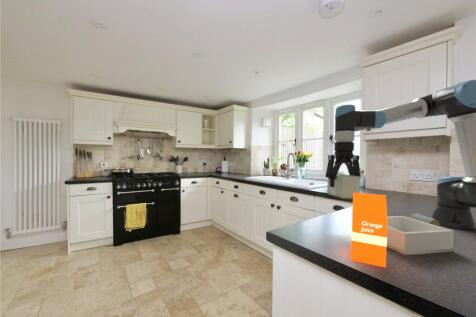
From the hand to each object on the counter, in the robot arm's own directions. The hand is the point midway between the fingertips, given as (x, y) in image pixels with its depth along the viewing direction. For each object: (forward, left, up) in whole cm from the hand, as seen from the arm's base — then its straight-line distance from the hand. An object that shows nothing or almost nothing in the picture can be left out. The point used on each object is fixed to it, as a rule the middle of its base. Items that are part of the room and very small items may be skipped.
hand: (342, 194), depth 92 cm
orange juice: (+10, +25, -15) cm, 31 cm away
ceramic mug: (-33, +9, -15) cm, 38 cm away
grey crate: (-14, +16, -15) cm, 26 cm away
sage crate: (0, 0, -1) cm, 1 cm away
